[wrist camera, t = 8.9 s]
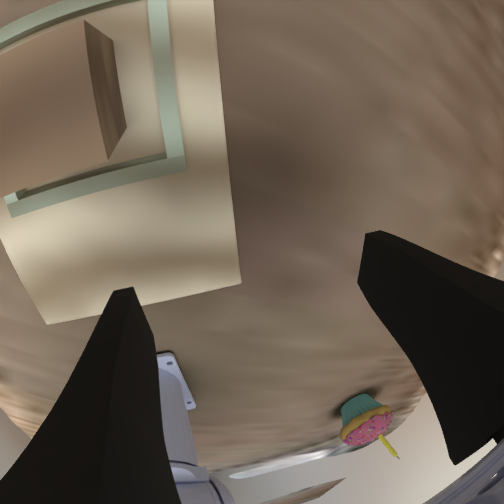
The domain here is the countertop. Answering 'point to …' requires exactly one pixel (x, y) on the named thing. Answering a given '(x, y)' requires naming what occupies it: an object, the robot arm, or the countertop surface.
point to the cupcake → (365, 421)
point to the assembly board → (133, 171)
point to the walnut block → (58, 106)
